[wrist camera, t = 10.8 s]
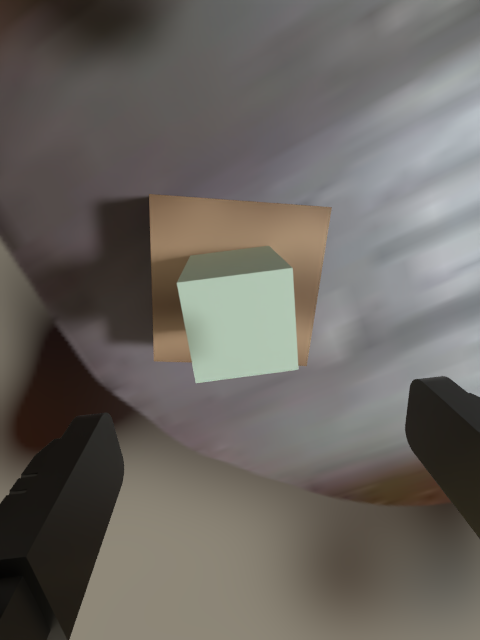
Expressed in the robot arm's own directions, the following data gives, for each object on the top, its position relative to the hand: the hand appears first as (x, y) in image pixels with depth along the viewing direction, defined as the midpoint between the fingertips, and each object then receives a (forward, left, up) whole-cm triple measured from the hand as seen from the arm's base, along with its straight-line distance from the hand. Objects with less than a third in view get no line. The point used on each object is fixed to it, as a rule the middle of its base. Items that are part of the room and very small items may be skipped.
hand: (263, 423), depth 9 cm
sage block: (0, 0, -14) cm, 14 cm away
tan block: (0, 0, -18) cm, 18 cm away
